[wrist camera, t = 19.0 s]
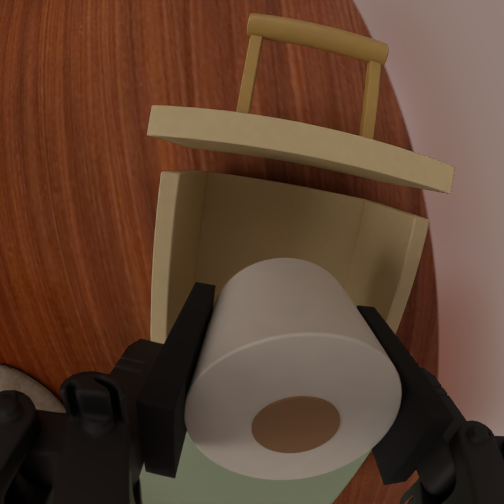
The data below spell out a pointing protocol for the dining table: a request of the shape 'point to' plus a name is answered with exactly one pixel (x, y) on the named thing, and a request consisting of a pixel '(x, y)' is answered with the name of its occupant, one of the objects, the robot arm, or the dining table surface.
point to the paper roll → (289, 376)
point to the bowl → (29, 389)
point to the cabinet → (238, 484)
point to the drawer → (287, 192)
